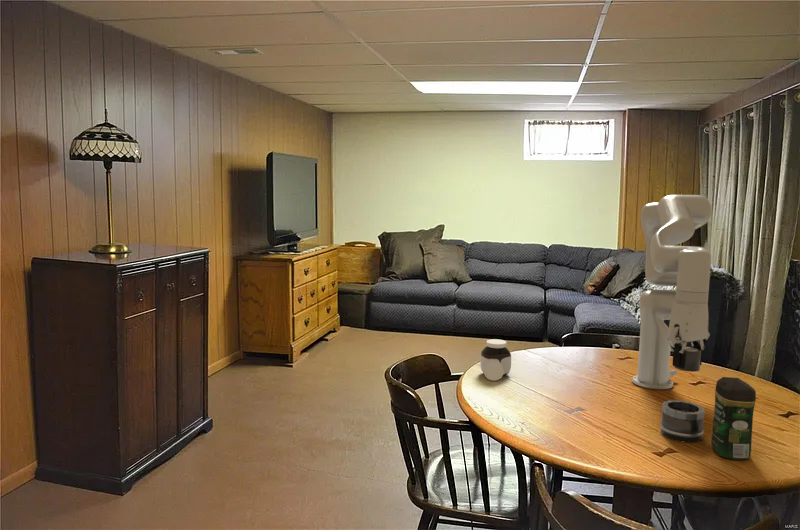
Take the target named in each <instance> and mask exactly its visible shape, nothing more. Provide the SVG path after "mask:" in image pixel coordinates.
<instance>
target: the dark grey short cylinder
mask: <svg viewBox="0 0 800 530" xmlns="http://www.w3.org/2000/svg"><path fill="white" fill-rule="evenodd" d="M684 353H686V354H685V367H684V368H683V369H682V368H678V367H675V366H673V367H674V369H675V370H676V369H677V370H679V371H684V372H700V370H701V365H700V359H701V350H700V349H697V348H693V347H692V346H686V347H685V350H684Z"/></svg>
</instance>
